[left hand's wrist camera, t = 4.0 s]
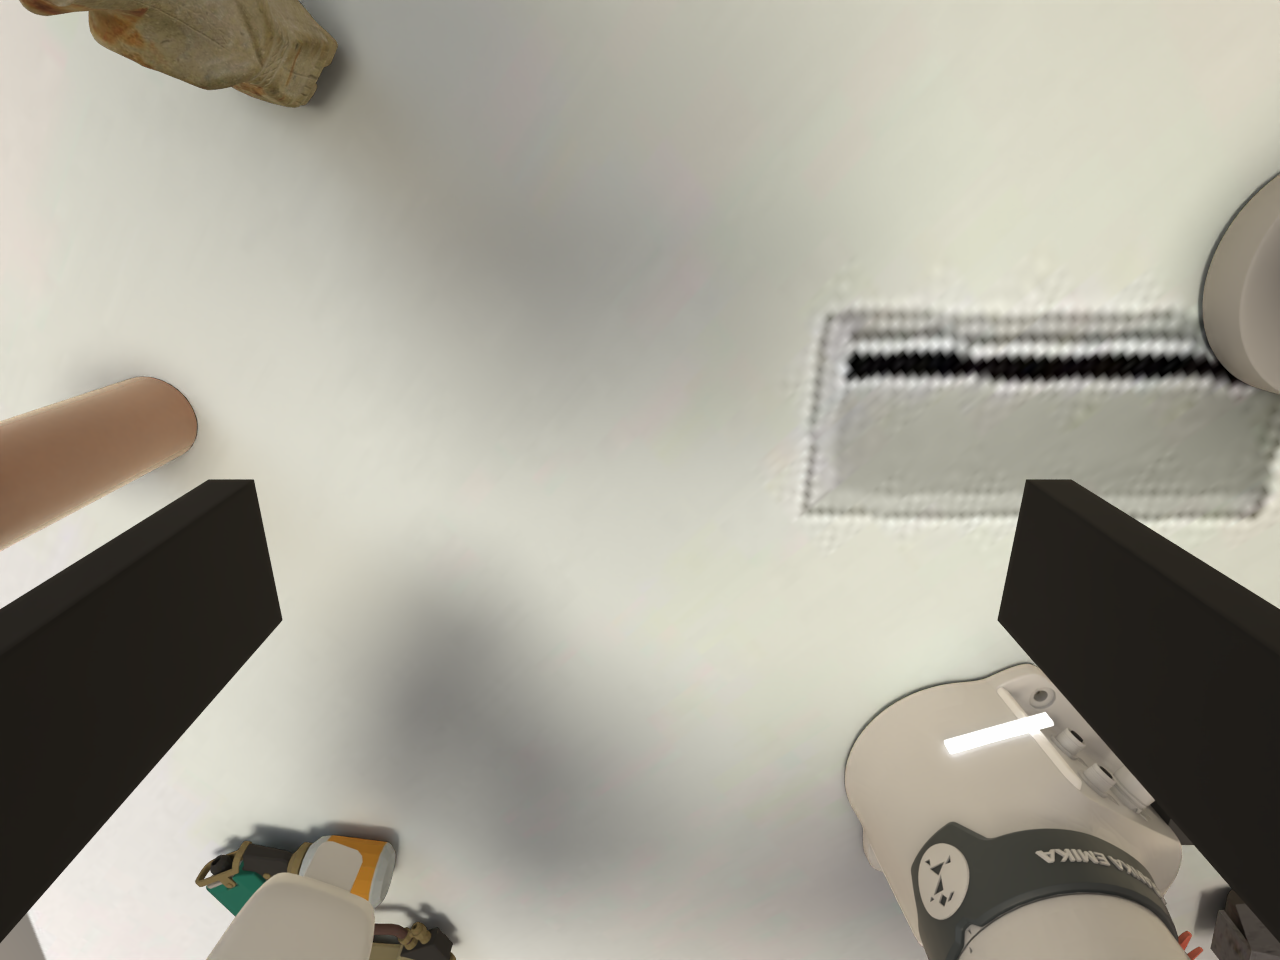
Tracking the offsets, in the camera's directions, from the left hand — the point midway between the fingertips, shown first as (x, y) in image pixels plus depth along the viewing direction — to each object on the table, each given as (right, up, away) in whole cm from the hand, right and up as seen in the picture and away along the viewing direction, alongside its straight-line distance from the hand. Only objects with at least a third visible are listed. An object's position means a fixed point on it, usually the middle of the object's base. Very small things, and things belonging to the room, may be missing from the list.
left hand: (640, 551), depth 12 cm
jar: (-28, +5, +28) cm, 40 cm away
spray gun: (-22, -30, +41) cm, 56 cm away
